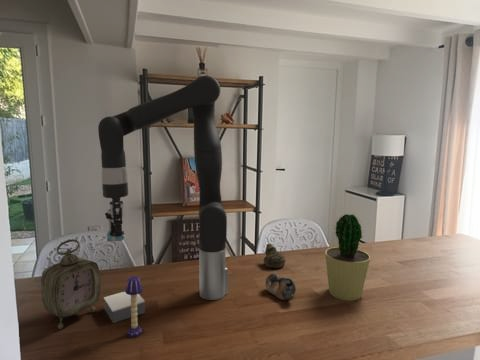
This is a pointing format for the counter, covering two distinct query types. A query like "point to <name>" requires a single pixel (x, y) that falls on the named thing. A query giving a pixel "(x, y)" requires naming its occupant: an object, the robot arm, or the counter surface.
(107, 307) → the plinth
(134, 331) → the toy lamp
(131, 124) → the robot arm
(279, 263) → the seashell
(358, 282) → the potted cactus
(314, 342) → the counter surface
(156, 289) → the counter surface
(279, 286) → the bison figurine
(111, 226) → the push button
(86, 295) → the tabletop clock
